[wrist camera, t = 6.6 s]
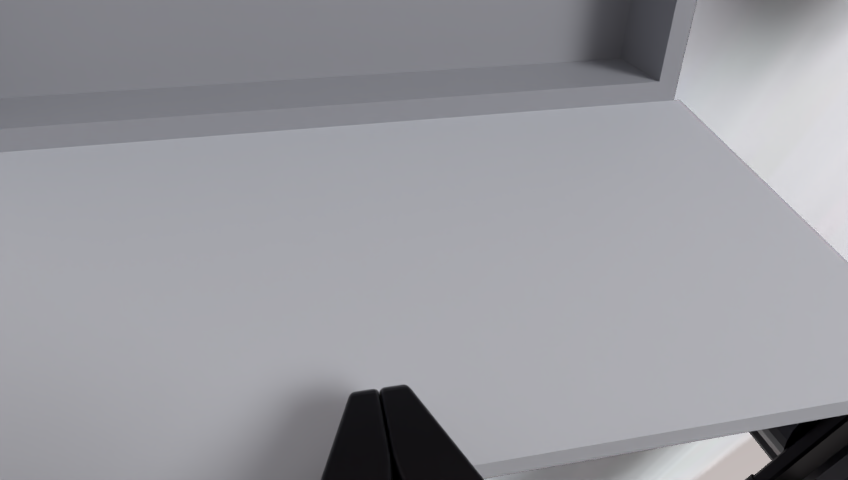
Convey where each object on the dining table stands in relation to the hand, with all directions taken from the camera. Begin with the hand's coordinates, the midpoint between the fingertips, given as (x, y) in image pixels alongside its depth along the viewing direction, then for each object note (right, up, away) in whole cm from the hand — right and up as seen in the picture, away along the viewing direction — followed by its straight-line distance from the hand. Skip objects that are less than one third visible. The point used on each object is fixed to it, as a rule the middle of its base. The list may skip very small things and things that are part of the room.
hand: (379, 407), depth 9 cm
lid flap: (-1, +2, +4) cm, 4 cm away
